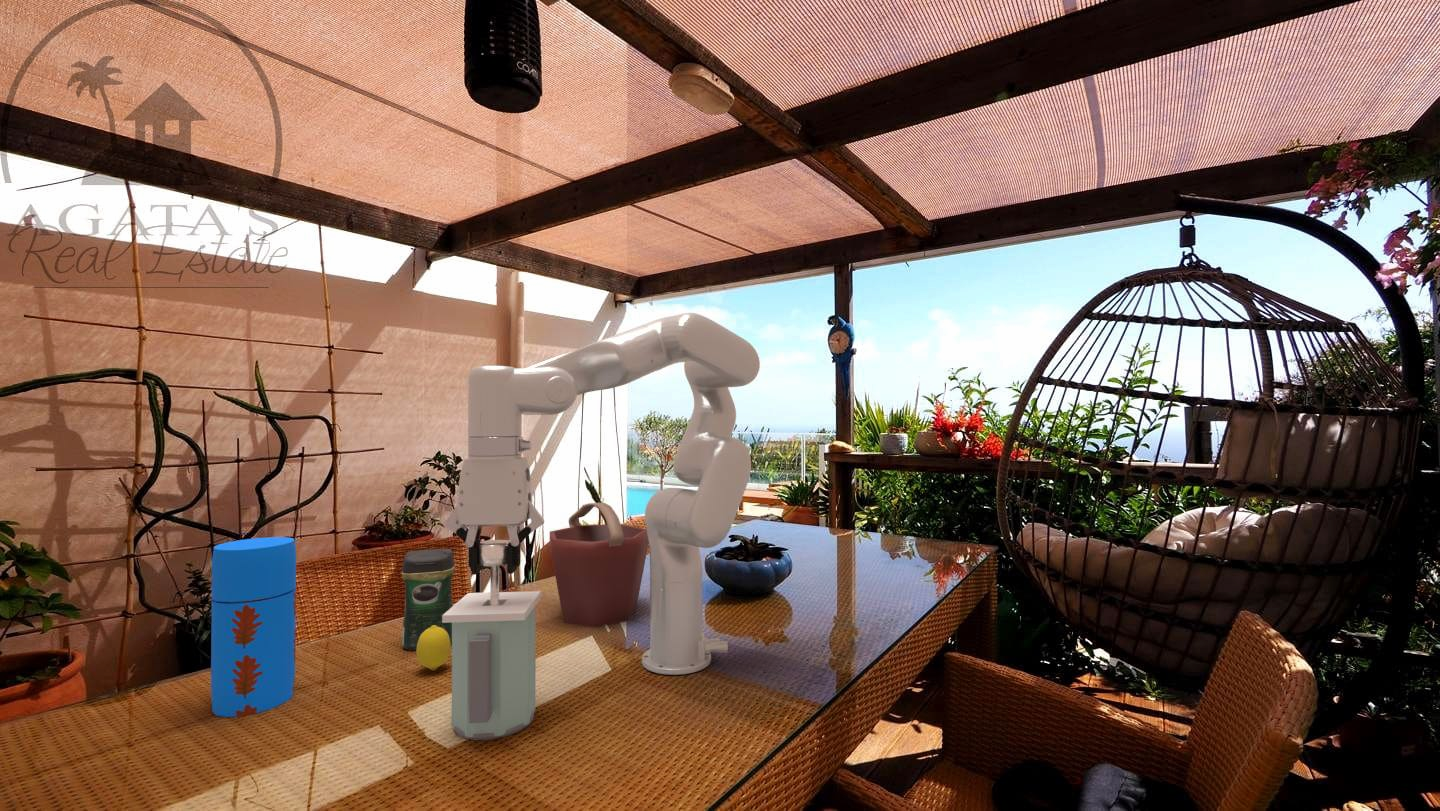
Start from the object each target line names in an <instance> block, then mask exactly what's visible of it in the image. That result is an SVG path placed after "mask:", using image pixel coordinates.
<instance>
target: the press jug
mask: <svg viewBox="0 0 1440 811" xmlns="http://www.w3.org/2000/svg"><path fill="white" fill-rule="evenodd" d="M490 595H491V591H490V592H468V593H467V594H465V595H463V597H462V598H461V599H459V600H458V601H457V602H456V603H455V604H454V605H453V607H451V608H450V609H449V610H448V611H447V612H446V613H445V614H443V615H442V623H450V622H452V642H451V728H452V729H453V731H454V733H455V734H456V735H457V736H459V737H460V738H462V739H467V740H472V741H487V740H489V741H490V740H495V739H496V740H497V739H501V738H504V737H508V736H511V735H513V734H516V733H519V732H520V731H523V730H524V729H525V728H527V727H528V726H529V725H530V724H531V723H532V722H533V720H534V718H535V711H536V605H537V604H538V603H539V601H540V600H541V598H542V590H540V591H539V590H538V591H537V590H536V591H534V590H532V591H531V590H530V591H503V592H502V591H499V605H494V606H490Z"/></svg>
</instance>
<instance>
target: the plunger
mask: <svg viewBox="0 0 1440 811" xmlns="http://www.w3.org/2000/svg"><path fill="white" fill-rule="evenodd" d="M509 546H510V539H509V540H508V539H490V540H484V541H480V543H479V565H481V566H483V567H490V592H491V595H490V606H494V605H499V592H500V566H505V565H507V547H509Z"/></svg>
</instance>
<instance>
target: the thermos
mask: <svg viewBox="0 0 1440 811" xmlns="http://www.w3.org/2000/svg"><path fill="white" fill-rule="evenodd" d="M211 558H212V559H211V634H210V636H211V639H210V640H211V641H210V642H211V643H210V644H211V646H210V648H211V649H210V651H211V654H210V657H211V659H210V691H211V692H210V693H211V708H212V710H211V712H212V714H214V715H216V716H219V717H225V718H229V717H231V718H232V717H243V716H248V715H255V714H259V713H262V712H265V711H268V710H271V709H273V708H276V707H279V706H281V705H283V704H285V703H286V702H288V701H289V700H291V698H292V697H293V696H294V694H295V682H296V681H295V680H296V678H295V677H296V640H297V639H296V638H297V637H296V630H297V628H296V622H297V619H296V618H297V616H296V615H297V614H296V612H297V609H296V608H297V606H296V604H297V603H296V602H297V600H296V599H297V592H296V591H297V549H296V541H295V539H294V538H292V537H287V536H272V537H271V536H270V537H269V536H268V537H257V538H246V539H239V540H233V541H229V542H224V543H219V544H217V545H215V546H213V551H212V557H211Z"/></svg>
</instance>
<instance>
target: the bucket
mask: <svg viewBox="0 0 1440 811" xmlns="http://www.w3.org/2000/svg"><path fill="white" fill-rule="evenodd" d="M594 508H597V509H598V511H599V512H600V513H601V514H602V516H603V518H604V521H606V522H605V523H606V524H582V523H581V521H580V520H579V518H583V517H585V516H586V515H587V514H589V513H590V512H591V511H592V509H594ZM568 524H569V525H568V526H569V527H567V528H566V527H565V528H560V529H556V530H550V531H549V549H550V555H551V560H552V565H553V569H554V570H553V572H554V576H555V582H556V587H557V593H558V598H559V603H560V609H561V610H560V611H561V613H562V614H561V615H562V618H563V624H567V625H574V626H581V627H582V626H584V627H588V628H589V627H591V628H596V627H602V626H607V625H608V626H609V625H614V624H619V623H623V622H627V621H629V619H630V618H631V617H632V616H633V614H634V613H636V611H637V608H638V607H637V606H638V601H639V595H640V590H641V585H642V580H643V579H642V578H643V575H644V569H645V565H646V560H647V553H648V548H649V542H648V537H647V532H646V528H642V527H637V526H633V525H629V524H628V525H627V524H624V523H623V524H622V523H621V522H620V518H619V516H618V515H617V512H616V511H615V510H614V509H613V507H612V506H611V505H609V504H608V503H605V502H590V503H585V504H583V505H582V506H580V508H578V510H577V511H575V512H574V513H573V514H572V515H571V516H570V517H569V518H568Z"/></svg>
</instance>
